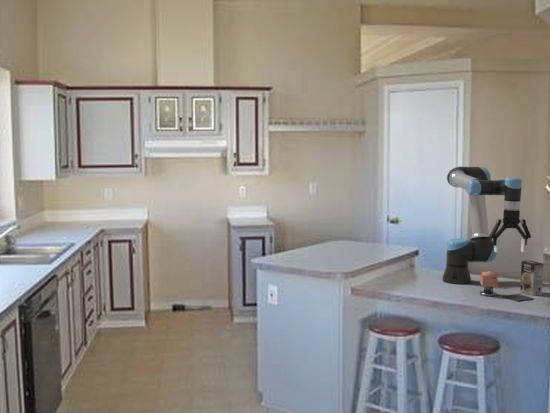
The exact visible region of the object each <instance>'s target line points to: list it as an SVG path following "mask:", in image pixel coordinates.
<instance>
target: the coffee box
mask: <svg viewBox="0 0 550 413" xmlns="http://www.w3.org/2000/svg"><path fill="white" fill-rule="evenodd" d="M543 278H544V263H543V262H538V261H534V260H522V261H521V271H520V286H519V287H520V289H519V292H521V293H524V294H527V295H529V294H530V295H529V296H541V295H542V293H543V280H544V279H543Z"/></svg>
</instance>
